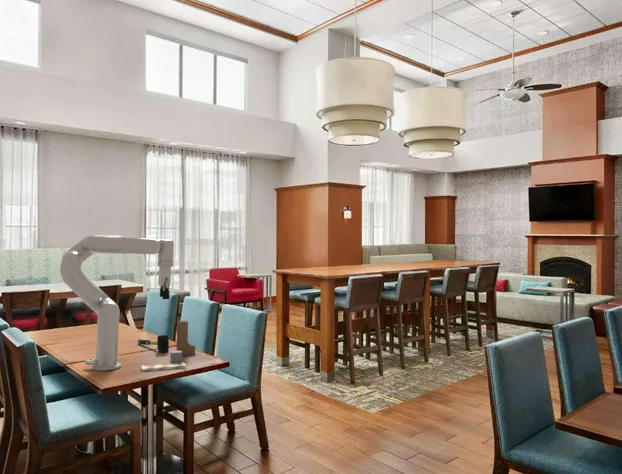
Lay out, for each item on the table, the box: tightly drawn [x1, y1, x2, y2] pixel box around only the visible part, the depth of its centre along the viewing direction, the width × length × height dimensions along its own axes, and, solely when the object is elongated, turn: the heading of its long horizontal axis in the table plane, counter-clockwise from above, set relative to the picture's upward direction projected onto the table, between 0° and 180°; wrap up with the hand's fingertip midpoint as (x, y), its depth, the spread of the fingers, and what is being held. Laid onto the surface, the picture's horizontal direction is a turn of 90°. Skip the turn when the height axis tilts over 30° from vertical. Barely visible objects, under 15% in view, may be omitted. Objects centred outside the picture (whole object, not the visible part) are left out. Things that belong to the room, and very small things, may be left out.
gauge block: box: [169, 350, 183, 364], centre depth 242 cm, size 5×4×6 cm
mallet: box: [137, 334, 170, 354], centre depth 273 cm, size 29×6×10 cm, turn 48°
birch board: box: [140, 361, 187, 372], centre depth 233 cm, size 20×6×1 cm, turn 115°
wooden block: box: [176, 320, 196, 357], centre depth 262 cm, size 9×4×18 cm, turn 127°
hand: (164, 297), depth 244 cm, fingers open, 9 cm apart
